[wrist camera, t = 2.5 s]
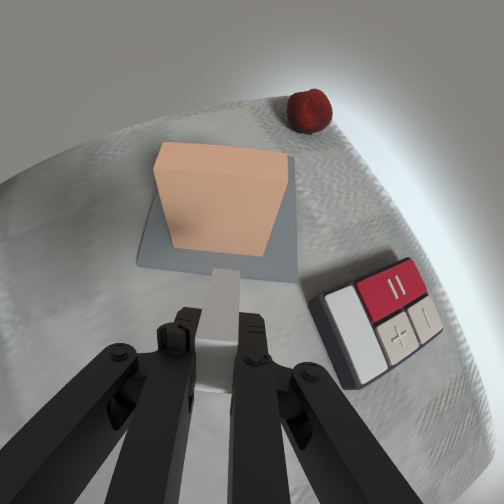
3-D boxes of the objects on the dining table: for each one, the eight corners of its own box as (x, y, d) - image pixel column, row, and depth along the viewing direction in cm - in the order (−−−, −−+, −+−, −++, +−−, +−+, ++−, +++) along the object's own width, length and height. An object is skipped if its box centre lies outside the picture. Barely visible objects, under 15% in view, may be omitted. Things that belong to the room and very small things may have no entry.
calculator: (448, 328, 27) (362, 391, 23) (426, 336, 31) (342, 391, 27) (413, 252, 31) (320, 291, 27) (395, 266, 35) (305, 304, 31)
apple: (315, 116, 46) (327, 81, 39) (332, 144, 43) (348, 108, 36) (277, 116, 45) (286, 78, 37) (292, 144, 41) (304, 105, 34)
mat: (138, 266, 30) (136, 263, 29) (172, 148, 38) (172, 144, 38) (295, 283, 31) (297, 280, 31) (292, 161, 40) (293, 157, 39)
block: (173, 247, 31) (153, 168, 19) (178, 224, 32) (163, 141, 20) (262, 256, 31) (288, 181, 20) (263, 233, 33) (287, 153, 21)
